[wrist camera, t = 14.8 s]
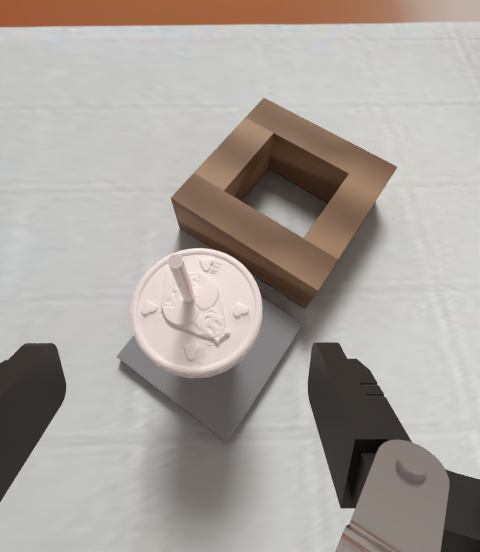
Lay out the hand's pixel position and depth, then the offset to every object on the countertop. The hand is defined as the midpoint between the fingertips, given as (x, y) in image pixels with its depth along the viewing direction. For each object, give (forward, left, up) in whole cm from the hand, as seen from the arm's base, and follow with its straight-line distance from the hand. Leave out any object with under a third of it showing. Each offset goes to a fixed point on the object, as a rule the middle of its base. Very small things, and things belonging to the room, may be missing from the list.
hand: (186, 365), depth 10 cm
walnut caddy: (+16, +4, -15) cm, 22 cm away
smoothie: (+2, +2, -14) cm, 15 cm away
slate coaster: (+3, +2, -15) cm, 15 cm away
